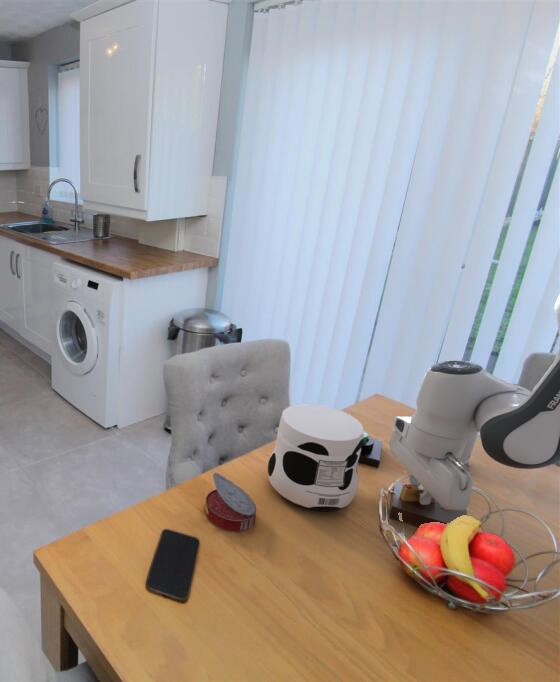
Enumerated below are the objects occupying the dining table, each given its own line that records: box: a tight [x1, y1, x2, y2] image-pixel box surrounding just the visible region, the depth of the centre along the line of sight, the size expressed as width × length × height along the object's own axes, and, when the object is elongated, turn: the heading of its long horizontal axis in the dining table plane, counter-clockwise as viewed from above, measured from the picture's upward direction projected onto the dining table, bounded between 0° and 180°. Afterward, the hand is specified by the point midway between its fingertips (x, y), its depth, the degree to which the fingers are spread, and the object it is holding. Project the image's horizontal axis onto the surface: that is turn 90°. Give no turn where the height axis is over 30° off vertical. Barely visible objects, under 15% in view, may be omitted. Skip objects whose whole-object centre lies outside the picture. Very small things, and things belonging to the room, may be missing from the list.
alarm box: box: [358, 434, 383, 469], centre depth 119 cm, size 10×10×4 cm
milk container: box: [267, 403, 364, 512], centre depth 103 cm, size 17×17×18 cm
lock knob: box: [400, 483, 436, 503], centre depth 98 cm, size 6×1×3 cm, turn 82°
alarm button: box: [363, 430, 369, 443], centre depth 118 cm, size 4×4×2 cm
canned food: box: [204, 472, 257, 533], centre depth 100 cm, size 11×10×10 cm
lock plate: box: [388, 480, 468, 528], centre depth 98 cm, size 13×10×3 cm
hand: (418, 497), depth 98 cm, fingers closed
